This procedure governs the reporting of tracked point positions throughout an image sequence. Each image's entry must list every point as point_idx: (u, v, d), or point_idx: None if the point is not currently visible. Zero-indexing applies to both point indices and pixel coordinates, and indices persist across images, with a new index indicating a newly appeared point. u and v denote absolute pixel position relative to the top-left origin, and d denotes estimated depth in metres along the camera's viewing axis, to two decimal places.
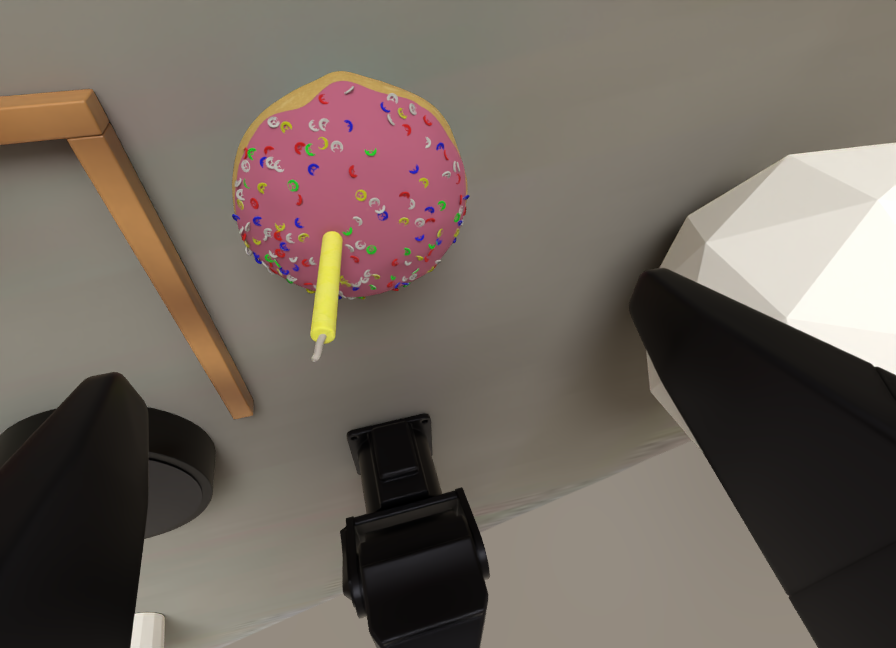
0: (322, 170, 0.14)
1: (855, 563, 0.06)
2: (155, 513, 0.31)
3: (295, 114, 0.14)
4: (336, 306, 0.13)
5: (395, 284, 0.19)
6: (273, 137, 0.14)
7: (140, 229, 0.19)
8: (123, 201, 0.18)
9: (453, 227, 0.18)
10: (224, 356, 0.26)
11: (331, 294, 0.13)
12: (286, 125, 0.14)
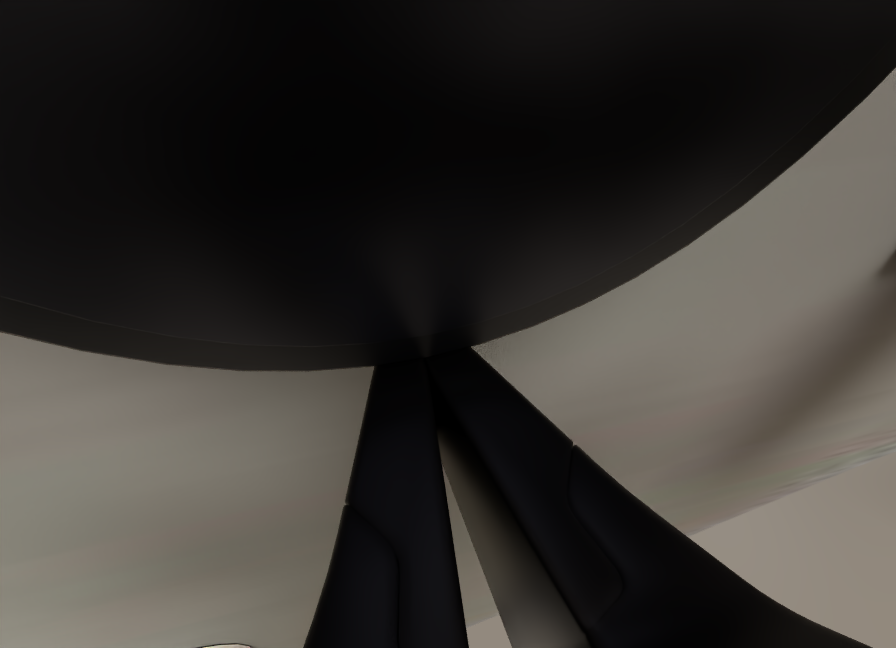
0: None
1: None
2: (616, 100, 0.04)
3: None
4: None
5: None
6: None
7: None
8: None
9: None
10: None
11: None
12: None
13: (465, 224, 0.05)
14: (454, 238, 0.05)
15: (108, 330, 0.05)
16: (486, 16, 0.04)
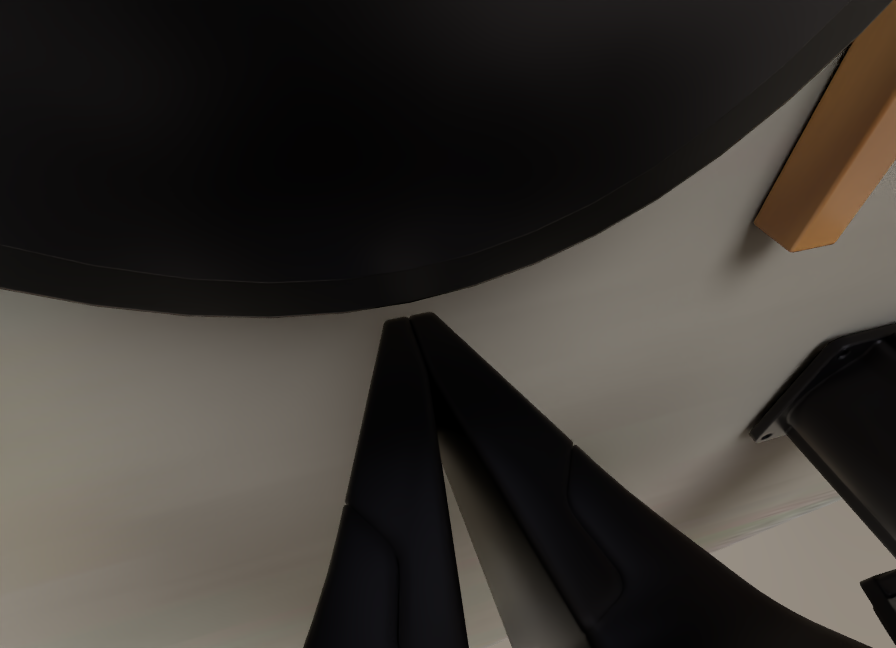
0: None
1: None
2: None
3: None
4: None
5: None
6: None
7: None
8: None
9: None
10: None
11: None
12: None
13: (446, 116, 0.04)
14: (431, 133, 0.04)
15: (7, 255, 0.04)
16: None
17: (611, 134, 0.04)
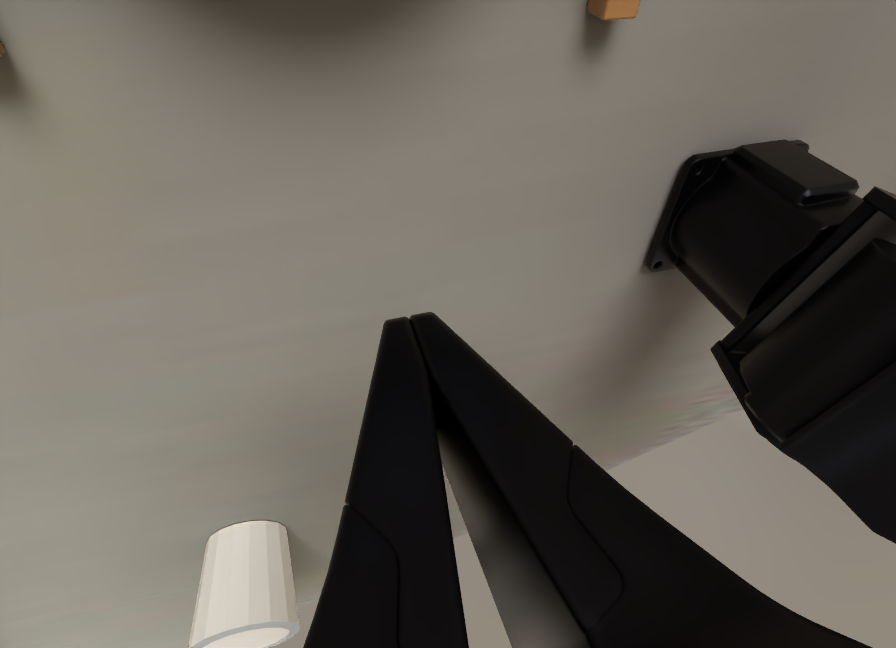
0: None
1: None
2: None
3: None
4: None
5: None
6: None
7: None
8: None
9: None
10: None
11: None
12: None
13: None
14: None
15: None
16: None
17: None
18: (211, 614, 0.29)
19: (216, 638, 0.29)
